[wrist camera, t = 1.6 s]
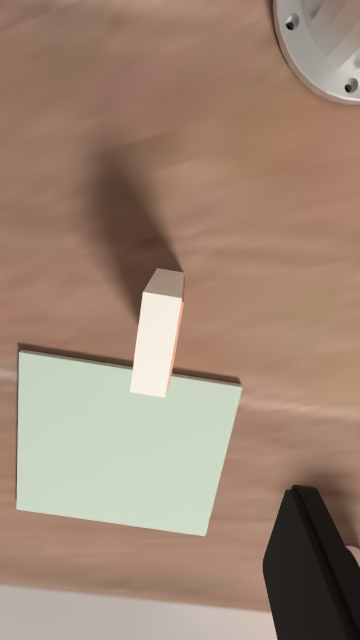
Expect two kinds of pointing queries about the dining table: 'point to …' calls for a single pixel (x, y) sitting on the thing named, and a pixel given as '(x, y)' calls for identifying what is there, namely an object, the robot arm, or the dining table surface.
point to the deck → (158, 333)
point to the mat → (120, 444)
